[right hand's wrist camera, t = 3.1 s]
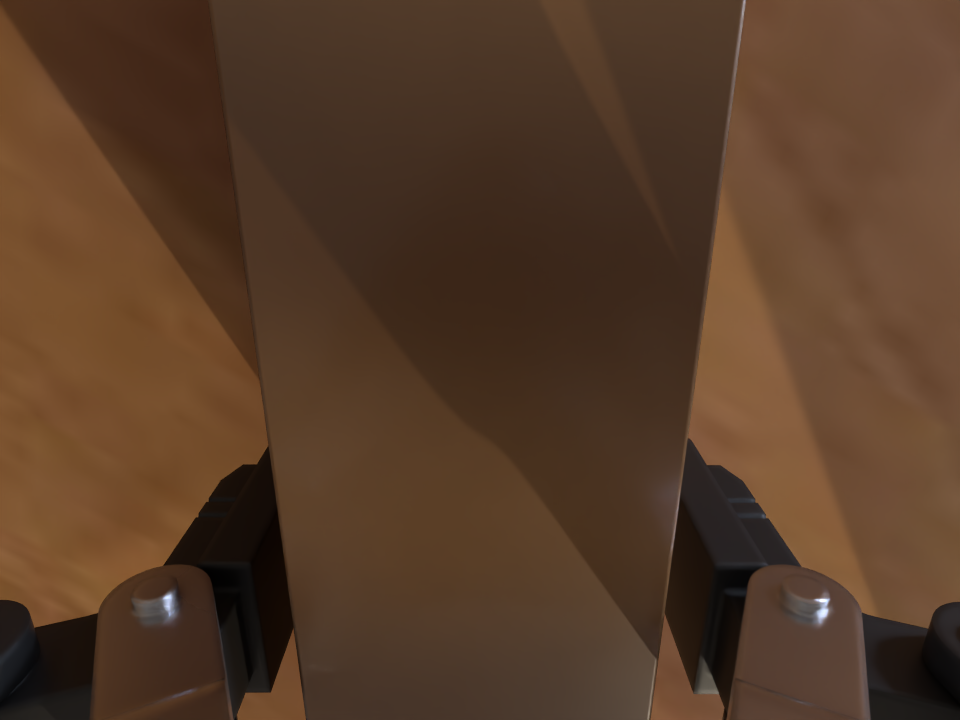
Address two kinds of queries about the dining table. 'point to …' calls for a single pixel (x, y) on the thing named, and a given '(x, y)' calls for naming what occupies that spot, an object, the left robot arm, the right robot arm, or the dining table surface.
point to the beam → (477, 333)
